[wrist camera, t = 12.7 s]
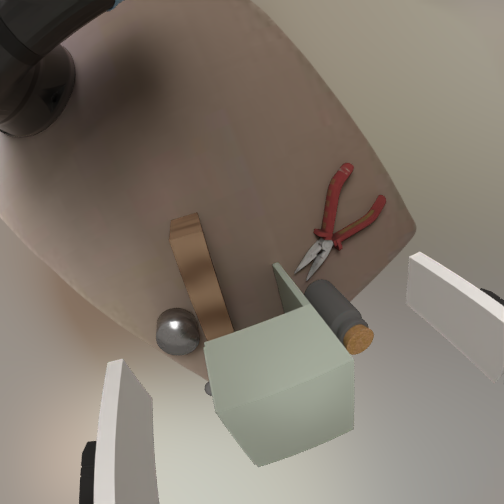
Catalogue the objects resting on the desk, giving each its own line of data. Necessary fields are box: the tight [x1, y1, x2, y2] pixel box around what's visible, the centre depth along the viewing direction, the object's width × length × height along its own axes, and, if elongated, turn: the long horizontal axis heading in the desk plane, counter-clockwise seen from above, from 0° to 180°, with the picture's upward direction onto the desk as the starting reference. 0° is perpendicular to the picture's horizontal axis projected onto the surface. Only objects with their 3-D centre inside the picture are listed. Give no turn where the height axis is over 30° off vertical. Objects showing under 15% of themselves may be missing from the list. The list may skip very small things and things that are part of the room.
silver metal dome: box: [156, 308, 199, 355], centre depth 45 cm, size 7×7×4 cm
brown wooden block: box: [169, 213, 234, 341], centre depth 41 cm, size 22×4×9 cm, turn 12°
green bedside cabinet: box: [203, 262, 354, 467], centre depth 39 cm, size 16×16×24 cm
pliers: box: [294, 163, 386, 281], centre depth 47 cm, size 12×20×3 cm, turn 145°
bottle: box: [304, 279, 374, 355], centre depth 45 cm, size 6×6×15 cm
